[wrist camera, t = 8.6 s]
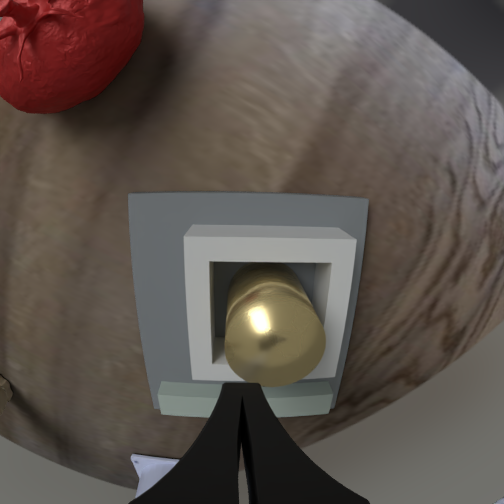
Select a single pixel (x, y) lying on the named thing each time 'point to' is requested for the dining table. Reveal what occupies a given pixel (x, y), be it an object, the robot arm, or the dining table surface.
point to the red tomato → (64, 49)
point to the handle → (4, 393)
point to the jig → (218, 279)
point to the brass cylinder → (271, 326)
